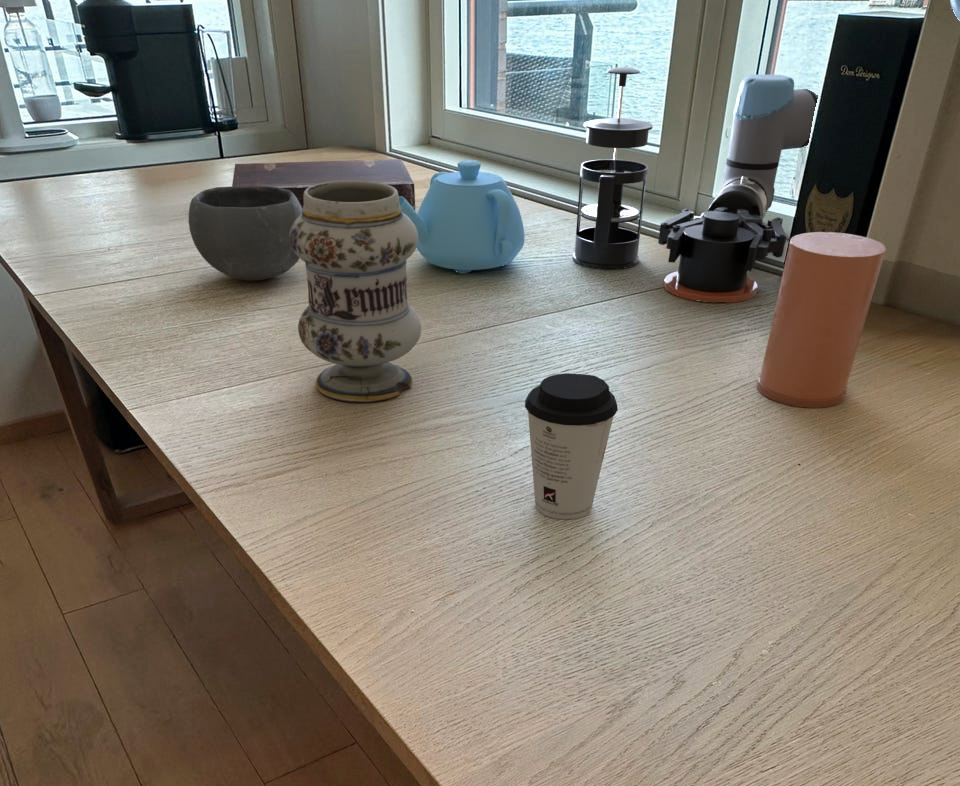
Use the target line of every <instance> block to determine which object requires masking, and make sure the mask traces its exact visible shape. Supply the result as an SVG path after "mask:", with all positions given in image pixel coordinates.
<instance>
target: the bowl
mask: <svg viewBox="0 0 960 786" xmlns="http://www.w3.org/2000/svg"><path fill="white" fill-rule="evenodd" d="M301 214H302V207H301V205H300V203H299V201H298V200H297V198H296V196H295V195H294V194H293V193H292V192H291V191H290V190H287V189H282V188H278V187H270V186H232V185H231V186H217V187H212V188H208V189H204V190H202V191H200V192H199V193H197V194H196V195H194V196H193V198H191V200H190V203H189V209H188V228H189V233H190V236H191V238H192V241H193V244H194V247H195V248H196V250H197V251H198V253H199V254H200V256H201V257H202V258H203V259H204V260H205V262H206V263H208V265H210V266H211V267H212V268H214V269H215V270H216V271H218V272H219V273H222V274H224V275H226V276H228V277H230V278H232V279H233V278H234V279H237V280H242V281H251V282H252V281H254V282H256V281H265V280H270V279H272V278H275V277H278V276H281V275H283V274H284V273H286V272H288V271H289V270H291V269H292V268H293V267H294V266H295V265H296V264H297V263H299V261H300V260H301V259H300V258H299V257H298V256H297V255H296V254H295V253H294V251H293V250H292V248H291V245H290V241H289V233H290V229H291V227H292V225H293V223H294V222H295V220H296V219H297V218H298V217H299V216H300V215H301Z"/></svg>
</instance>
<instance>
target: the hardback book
mask: <svg viewBox="0 0 960 786" xmlns="http://www.w3.org/2000/svg"><path fill="white" fill-rule="evenodd" d="M340 180H354V181H369V182H377V183H383V184H386V185H389V186H392V187H394V188H395V189H396V190H397V192H398V195H399V196H403V197H404V198H405V199H406V201H407V202H408V203H409V204H410V205H411V206H412V208H413V209H414V210H415V211H416V193H415V183H414V181H413V179H412V177H411V175H410V172H409V171H408V169H407V168H406V165H405V163H404V162H403V160H402V158H396V159H393V158H391V159H360V160H358V159H357V160H324V161H289V162H287V161H285V162H252V163H234V169H233V176H232V184H231V186H270V187H278V188H282V189H287V190H290V191H291V192H292V193H293V194H294V195H295V196H296V198H297V200H298V201H299V203H300V205H301V207H302V210H303V206H304V198H303V196H304V191H305V190H306V189H307V188H308V187H311V186H313V185H316V184H320V183H325V182H331V181H340Z"/></svg>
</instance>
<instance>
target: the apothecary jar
mask: <svg viewBox="0 0 960 786" xmlns="http://www.w3.org/2000/svg"><path fill="white" fill-rule="evenodd" d="M303 198H304V206H303V210H302V214H301V215H300V216H299V217H298V218H297V219H296V220H295V222H294V223H293V225H292V227H291V229H290V233H289V241H290V245H291V248H292V250H293V251H294V253H295V254H296V255H297V256H298V257H299V258H300V259H299V260H301V261H303V262H304V263H305V271H306V279H307V280H306V281H307V291H308V294H307V295H308V297H307V298H308V305H307V306H306V307H305V309H304V310H303V312H302V313H301V315H300V317H299V320H298V325H297V330H298V335H299V339H300V340H301V343H302V344H303V346H304V347H305V348H306V349H307V350H308V351H309V352H311V353H312V354H313V355H314V356H316V357H317V358H319V359H321V360H323V361H326V362H328V363H332V364H334V365H331V366H329V367H327V368H325V369H324V370H323V371H321V372H320V373H319V375H318V376H317V377H316V380H315V387H316V389H317V391H318V392H319V393H321V394H322V395H324V396H326V397H328V398H330V399H333V400H337V401H342V402H350V403H375V402H381V401H386V400H391V399H393V398H396V397H398V396H400V395H401V393H402V392H403V390H407V389H410V388H411V387H412V385H413V377H412V375H411V373H409V372H408V370H406V369H405V368H403V367H402V366H399V365H397V364H394V363H392V362H393V361H396V360H398V359H400V358H403V356H405V355H407V354H408V353H409V352H410V351H411V350H413V349H414V347H415V346H416V345H417V343H418V342H419V340H420V338H421V334H422V323H421V319H420V316H419V315H418V314H417V312H416V310H415V309H414V307H412V306H411V305H409V300H408V283H407V282H408V280H407V260H408V259H409V258H410V257H411V256H413V254H414V253H415V251H416V249H417V248H416V247H417V243H418V233H417V230H416V227H415V225H414V224H413V222H412V221H411V220H410V218H409V217H408V216H406V215H405V214H404V213H403V212H402V211H401V206H400V204H399V195H398V192H397V190H396V189H395V188H394V187H392V186H389V185H386V184H383V183H377V182H369V181H354V180H340V181H331V182H325V183H320V184H316V185H313V186H311V187H308V188H307V189H306V190H305V191H304V196H303Z"/></svg>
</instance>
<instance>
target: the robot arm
mask: <svg viewBox="0 0 960 786" xmlns="http://www.w3.org/2000/svg"><path fill="white" fill-rule="evenodd" d="M949 2H950V6H951V9H953V12H954V14H955V16H956V17H957V19H958V20H959V21H960V0H949ZM808 89H809V88H797V89H795V80H794V79H793V78H792V77H791V76H789V75H788V76H787V75H781V74H751V75H747V76H746V77H744V78H743V79H742V81H741V82H740V85H739V89H738V92H737V96H736V101H735V105H734V108H733V119H732V125H731V130H730V138H729V144H728V151H727V157H726V163H725V166H724V170H723V171H724V172H723V179H722V182H721V183H722V184H721V188H720V191H719V193H718V194H717V195H716V197H715V198H714V199H713V201H712V202H711V204H709V207H708V209H707V211H703V212H701V214H700V215H695V212H694V211H692V210H691V209H689V208H683V209H682V210H681V212H680V213H678V214H676V215H674V216H672V217H670V218H668V219H666V220H664V221H662V222H660V227H659V234H658V235H659V236H658V242H657V244H659V245H661V246H663V245H664V246H665V248H666V249H667V250H669V253H668V263H673V264H674V263H676V261H677V260H678V259H679V258H680V254H681V247H682V241H683V234H684V230H685V229H686V228H688V227H691V226H695V225H703V219H704V214H706V213H709V212H728V213H733V214H736V215H738V216H740V220H739V225H738V227H740V228H743V229H746V230H749V231H751V232H752V233H753V234H754V236H755V237H754V239H753V241H752V243H751V245H750V247H749V252H748V257H747V262H746V268H745V271H748V272H752V270H753V268H754V266H755V264H756V262H757V260H765V259H766V258H767V257H768V255H769V254H770V253H771V255H772V256H773V257H775V258H782V257H783V254H784V250H785V245H786V240H787V233H786V232H785V230H784V228H783V222H784V220H783V218H781V217H775V218H772V219H768V220H767V222H764V218H765V216H766V214H767V213H768V212H767V210H768V211H769V209H770V208H771V206H772V203H773V202H774V196H775V191H776V188H775V182H776V178H777V173H778V167H779V164H780V159H781V155H782V151H784V150H785V151H786V150H792V149H803V148H802V147H804V146H807V145H808V143H809V138H810V133H811V127H812V121H813V116H814V111H815V107H816V103H817V99H818V95H816V94H815V93H814V92H812V91H810V90H808ZM804 148H805V147H804ZM766 212H767V213H766Z"/></svg>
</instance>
